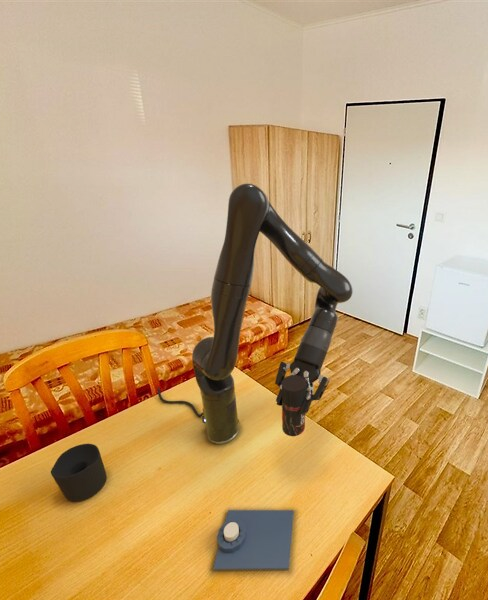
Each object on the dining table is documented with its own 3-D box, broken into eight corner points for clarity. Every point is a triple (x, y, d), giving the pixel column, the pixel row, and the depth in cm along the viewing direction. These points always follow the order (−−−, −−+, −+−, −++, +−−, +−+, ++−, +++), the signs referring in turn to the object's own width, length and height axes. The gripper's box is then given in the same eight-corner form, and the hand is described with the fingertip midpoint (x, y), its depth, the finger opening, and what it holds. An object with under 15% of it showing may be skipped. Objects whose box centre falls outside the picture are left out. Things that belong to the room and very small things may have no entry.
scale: (210, 571, 67) (209, 564, 66) (226, 512, 78) (225, 506, 77) (288, 570, 68) (288, 564, 67) (293, 512, 79) (293, 506, 78)
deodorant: (301, 438, 81) (302, 393, 74) (279, 433, 81) (278, 388, 75) (307, 420, 86) (309, 377, 79) (286, 416, 87) (286, 373, 80)
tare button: (222, 542, 70) (221, 537, 69) (226, 526, 73) (225, 522, 72) (237, 542, 70) (236, 537, 70) (240, 526, 73) (240, 522, 73)
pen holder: (117, 478, 84) (107, 453, 79) (77, 511, 76) (65, 484, 72) (94, 463, 87) (84, 438, 83) (55, 493, 79) (41, 467, 75)
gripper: (342, 357, 84) (320, 420, 80) (295, 342, 89) (272, 401, 85) (335, 351, 77) (310, 420, 73) (285, 335, 83) (259, 398, 78)
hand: (290, 409), depth 79 cm, fingers closed on deodorant, 6 cm apart
